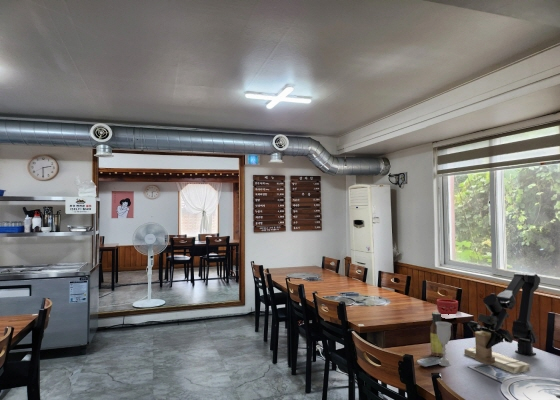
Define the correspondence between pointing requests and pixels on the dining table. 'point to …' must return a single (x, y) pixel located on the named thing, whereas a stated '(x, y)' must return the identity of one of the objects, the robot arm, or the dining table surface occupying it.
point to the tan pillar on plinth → (483, 348)
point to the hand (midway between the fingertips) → (481, 346)
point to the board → (503, 361)
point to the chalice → (444, 339)
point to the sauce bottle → (435, 336)
